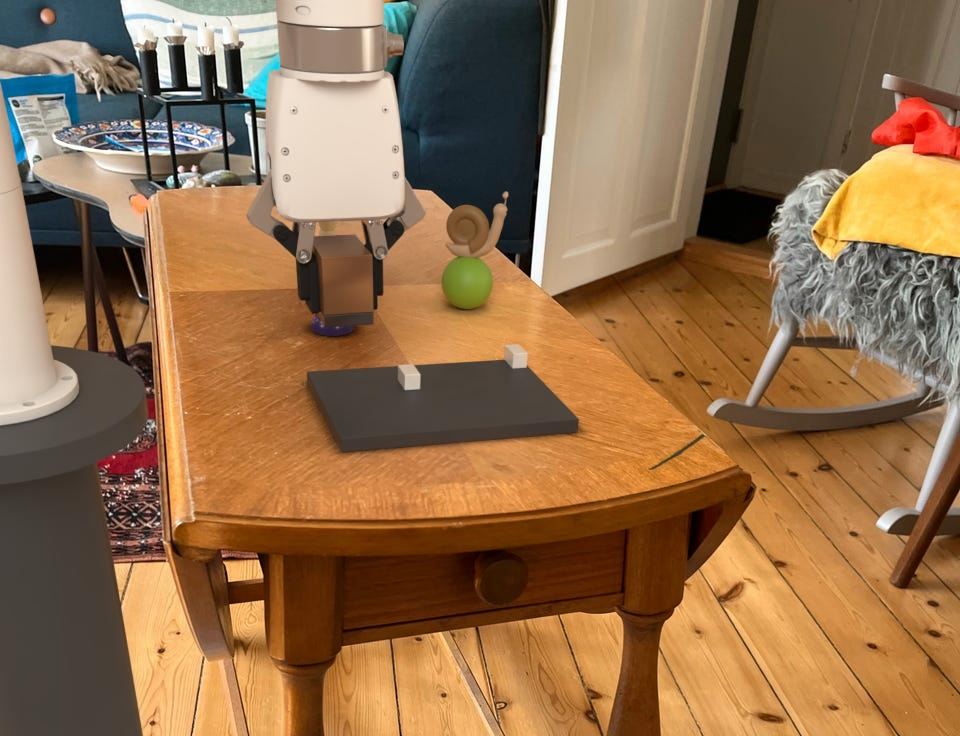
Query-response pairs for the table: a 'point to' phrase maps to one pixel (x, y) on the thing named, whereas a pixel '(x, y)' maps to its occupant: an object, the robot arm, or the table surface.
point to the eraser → (344, 280)
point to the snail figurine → (471, 254)
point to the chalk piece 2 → (515, 356)
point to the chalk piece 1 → (409, 377)
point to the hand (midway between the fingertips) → (341, 304)
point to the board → (437, 405)
